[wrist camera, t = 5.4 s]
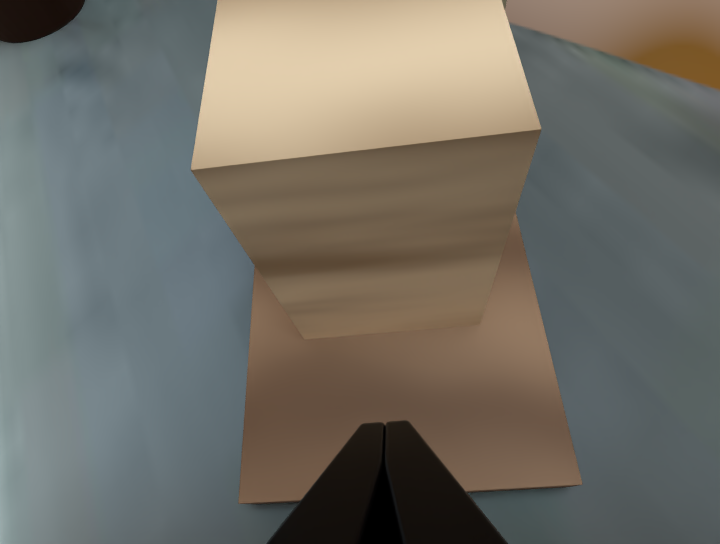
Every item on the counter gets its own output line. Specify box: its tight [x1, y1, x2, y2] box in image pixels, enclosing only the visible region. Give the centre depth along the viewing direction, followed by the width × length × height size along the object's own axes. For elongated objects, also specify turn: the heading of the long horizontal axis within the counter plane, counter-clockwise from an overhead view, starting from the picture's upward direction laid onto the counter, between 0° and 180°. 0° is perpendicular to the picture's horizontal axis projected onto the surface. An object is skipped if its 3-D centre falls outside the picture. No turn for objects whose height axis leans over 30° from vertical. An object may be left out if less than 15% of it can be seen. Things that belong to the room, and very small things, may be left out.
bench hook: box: [238, 0, 582, 504], centre depth 16 cm, size 16×10×6 cm, turn 3°
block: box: [191, 0, 541, 339], centre depth 14 cm, size 10×6×9 cm, turn 3°
